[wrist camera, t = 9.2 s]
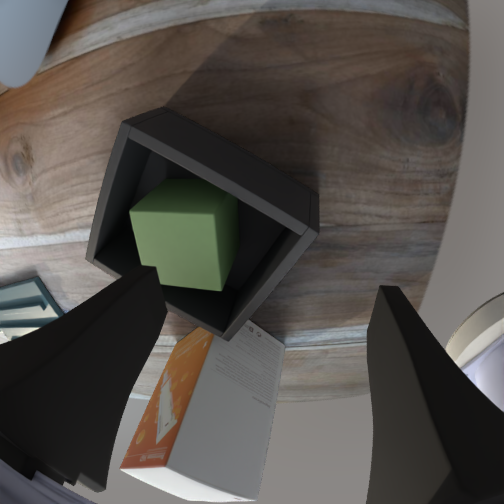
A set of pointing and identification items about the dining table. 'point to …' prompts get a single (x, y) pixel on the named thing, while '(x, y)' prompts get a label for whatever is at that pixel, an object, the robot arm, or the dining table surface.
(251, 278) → the dark grey open tray
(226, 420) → the small box
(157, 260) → the block
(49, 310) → the drainboard
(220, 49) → the dining table surface
